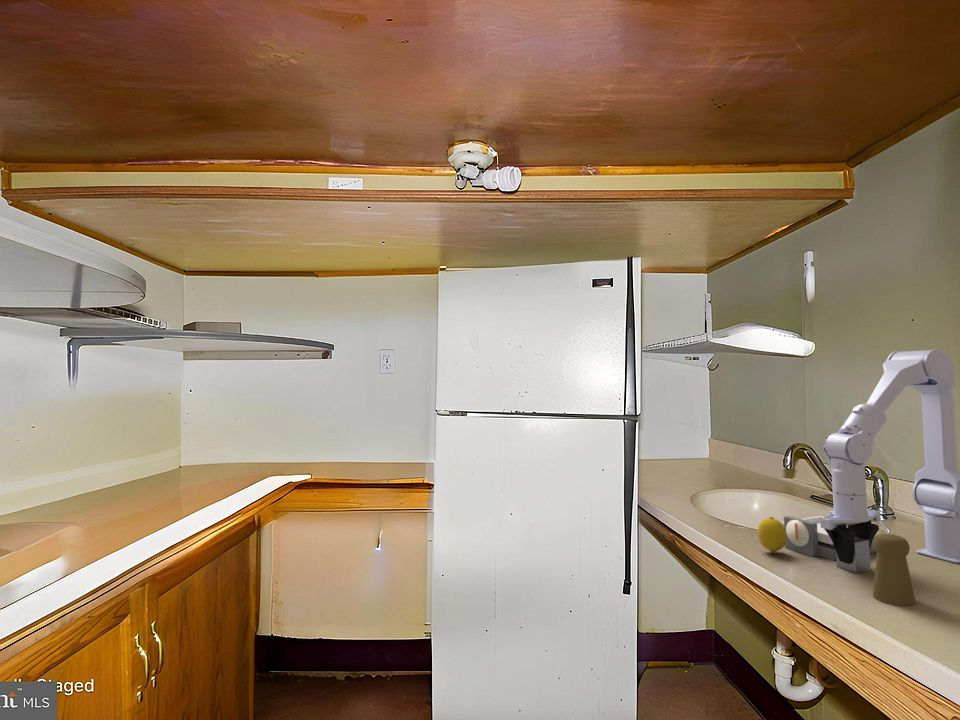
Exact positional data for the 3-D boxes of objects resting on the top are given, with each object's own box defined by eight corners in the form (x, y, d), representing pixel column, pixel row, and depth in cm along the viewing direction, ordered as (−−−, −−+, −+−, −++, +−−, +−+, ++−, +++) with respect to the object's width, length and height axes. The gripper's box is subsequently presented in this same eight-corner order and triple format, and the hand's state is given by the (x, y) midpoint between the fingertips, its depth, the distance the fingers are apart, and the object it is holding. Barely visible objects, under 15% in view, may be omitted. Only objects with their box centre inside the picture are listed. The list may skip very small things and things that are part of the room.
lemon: (771, 547, 126) (769, 512, 126) (793, 554, 121) (791, 517, 121) (753, 551, 124) (751, 515, 124) (774, 558, 119) (772, 521, 119)
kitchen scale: (821, 534, 134) (819, 505, 134) (879, 551, 121) (878, 518, 121) (770, 543, 129) (769, 513, 129) (826, 561, 115) (824, 528, 116)
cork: (874, 589, 100) (870, 528, 101) (916, 597, 97) (912, 533, 97) (871, 600, 96) (867, 537, 96) (915, 609, 92) (911, 542, 92)
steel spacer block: (851, 564, 114) (849, 534, 114) (870, 570, 110) (868, 539, 110) (837, 567, 112) (835, 537, 112) (856, 573, 109) (854, 542, 109)
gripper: (855, 485, 118) (859, 549, 117) (805, 492, 113) (808, 559, 112) (889, 491, 111) (893, 559, 111) (837, 499, 106) (841, 570, 106)
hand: (853, 560), depth 111 cm, fingers closed on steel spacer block, 4 cm apart
